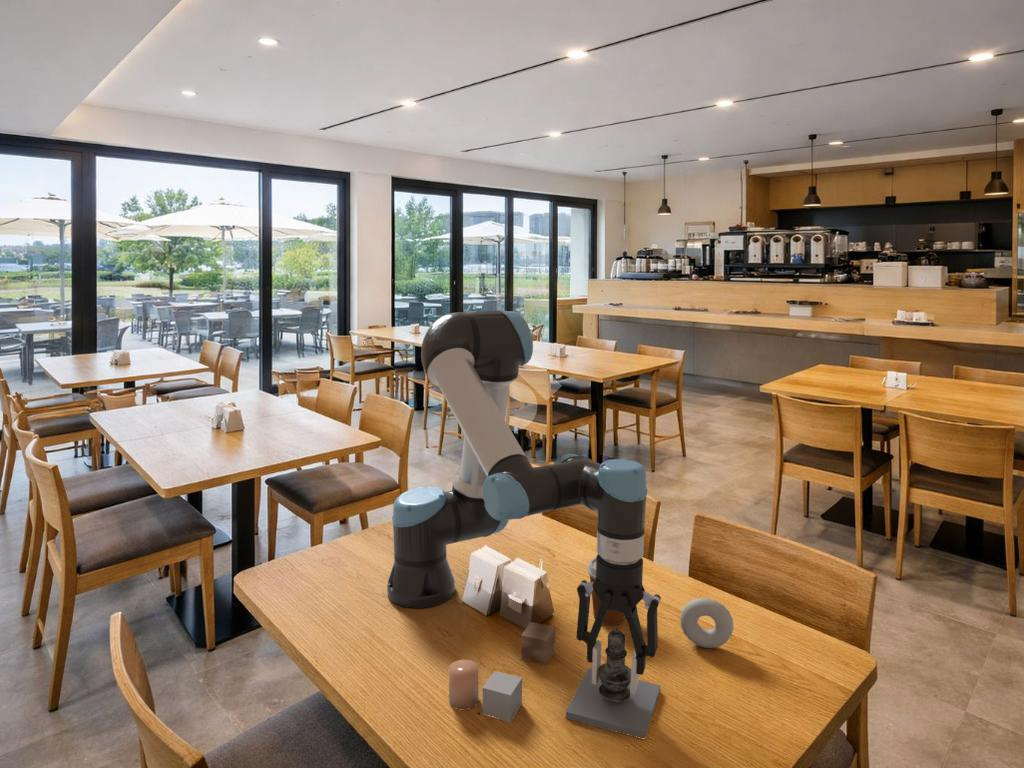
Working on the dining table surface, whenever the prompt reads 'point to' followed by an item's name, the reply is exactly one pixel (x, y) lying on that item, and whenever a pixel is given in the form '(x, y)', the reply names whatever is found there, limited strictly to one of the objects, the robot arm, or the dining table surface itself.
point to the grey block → (502, 696)
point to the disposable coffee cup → (612, 615)
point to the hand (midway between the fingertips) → (614, 683)
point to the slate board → (614, 707)
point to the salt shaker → (615, 669)
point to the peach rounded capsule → (463, 684)
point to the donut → (713, 610)
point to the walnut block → (538, 643)
